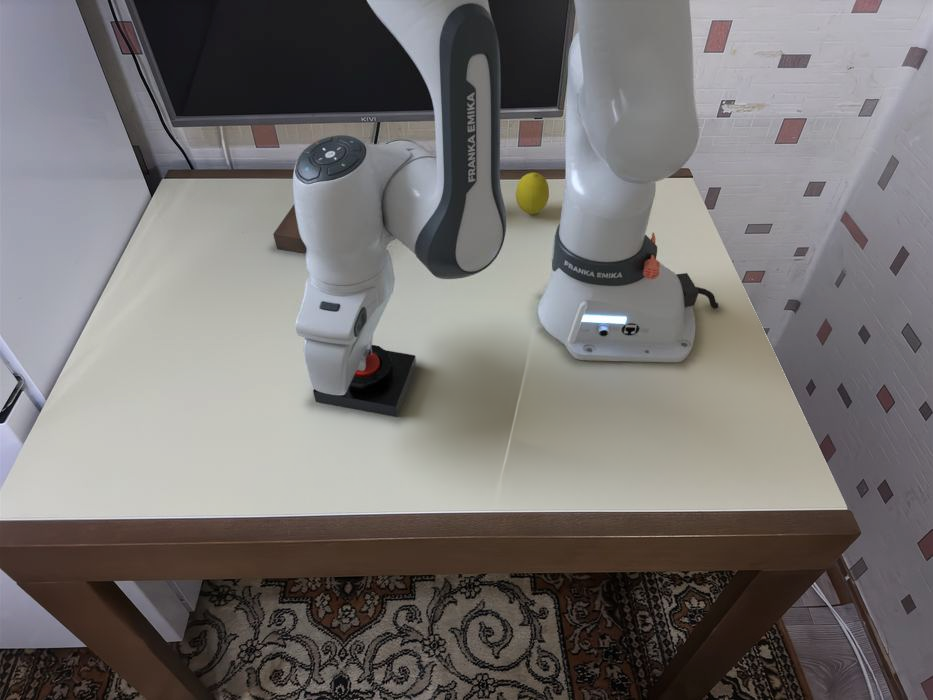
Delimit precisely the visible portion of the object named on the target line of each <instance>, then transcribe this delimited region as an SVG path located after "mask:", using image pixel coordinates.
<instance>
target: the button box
mask: <svg viewBox="0 0 933 700" xmlns="http://www.w3.org/2000/svg"><path fill="white" fill-rule="evenodd" d="M371 347H372V353H374V354H376V355H377V356H378V358H379V361H380V370H379V371H377V372H376V373H375V374H373V375H372V376H368V377H363V378H362V377H357V376H354V377H353V379H352V381H351V383H350V385H349V388H348V390H347V392H346V394H344V395H331V394H326V393H322V392H319V391H317V390H315V389H314V388H313V390H312V393H313V397H314V401H315V403H319V404H325V405H328V406H329V405H330V406H335V407H340V408H346V409H351V410H355V411H356V410H357V411H361V412H367V413H373V414H378V415H383V416H387V417H388V416H389V417H393V418H398V416H399V414H400V410H401V408H402V405H403V403H404V400H405V398H406V395H407V392H408V390H409V387H410V383H411V381H412V379H413V376H414V374H415V371H416V368H417V358H416V357H417V356H416V355H415V354H411V353H403V352H397V351H394V350H393V351H392V350H386V349H384V348H383V347H381V346H380V345H376V344H372V346H371Z"/></svg>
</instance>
